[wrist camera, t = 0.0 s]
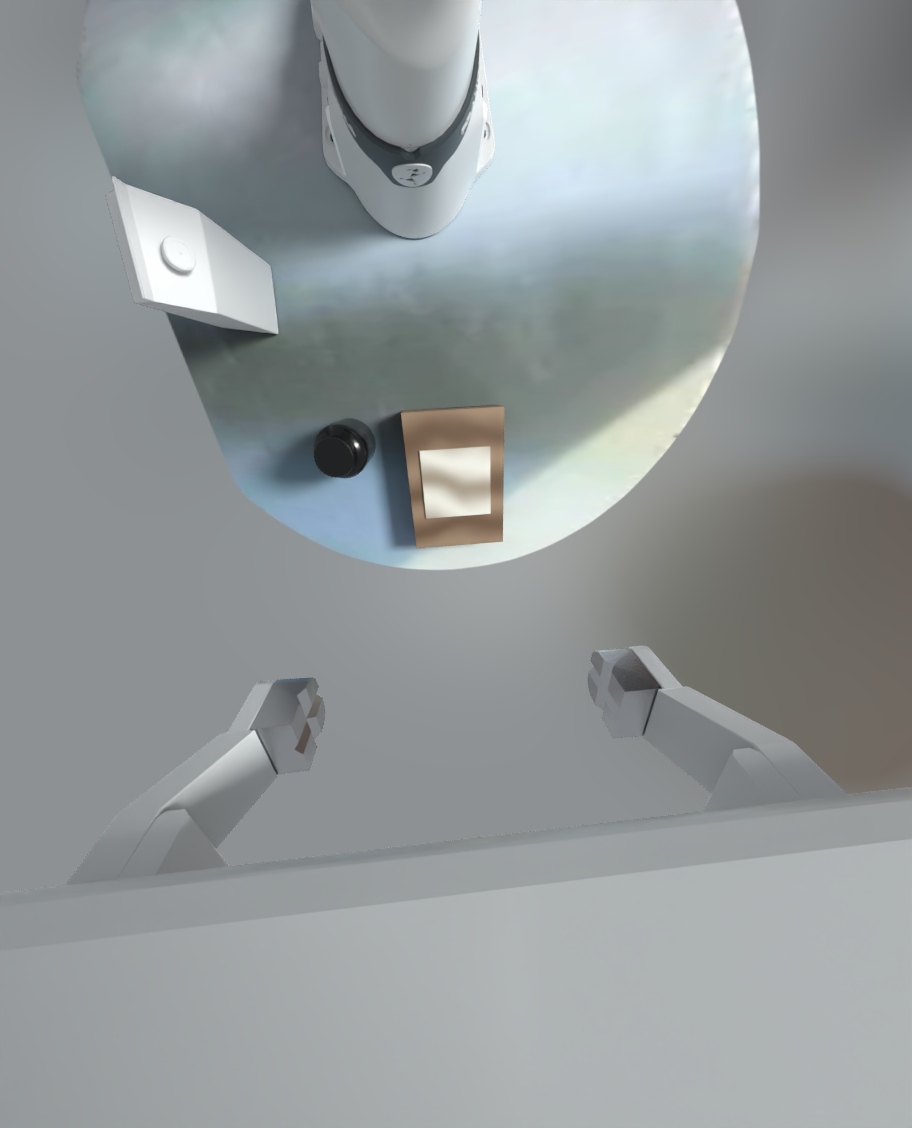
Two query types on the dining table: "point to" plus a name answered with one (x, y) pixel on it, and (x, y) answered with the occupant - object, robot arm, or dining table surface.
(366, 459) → the supplement bottle
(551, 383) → the dining table surface
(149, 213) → the milk carton
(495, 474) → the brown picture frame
